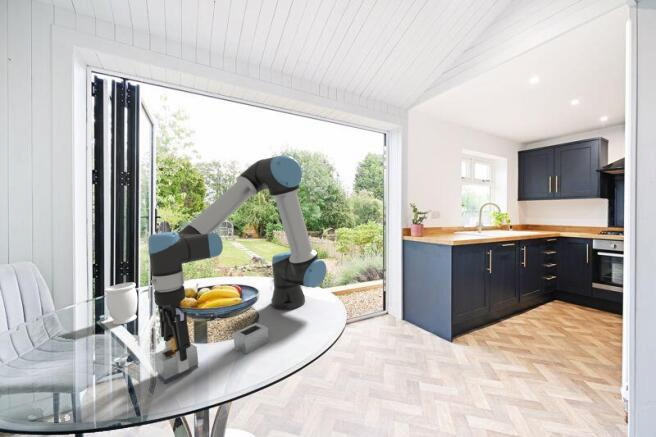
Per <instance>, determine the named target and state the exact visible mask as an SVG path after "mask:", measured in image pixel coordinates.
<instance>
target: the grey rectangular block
mask: <svg viewBox="0 0 656 437" xmlns="http://www.w3.org/2000/svg"><path fill="white" fill-rule="evenodd" d="M187 354H188V364H189V368H190V367H192V366H194V365H196V364H198V365H199V357H198V346H196V345H195V344H193V343H192V342H190V347H188V348H187ZM153 357H154V363H155V364H154V365H155V372H156V373H157V372H158V373H159V374H160V375H161V376H162V377H163V378H164V379H167V378H169V377H171V376H174V375H176V374H178V368H177V360H176V354H173V355H172V347H170V348H167V349H166V348H165V349H163V350H160V351H159V352H155V353H154V354H153ZM158 373H157V374H158Z"/></svg>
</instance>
